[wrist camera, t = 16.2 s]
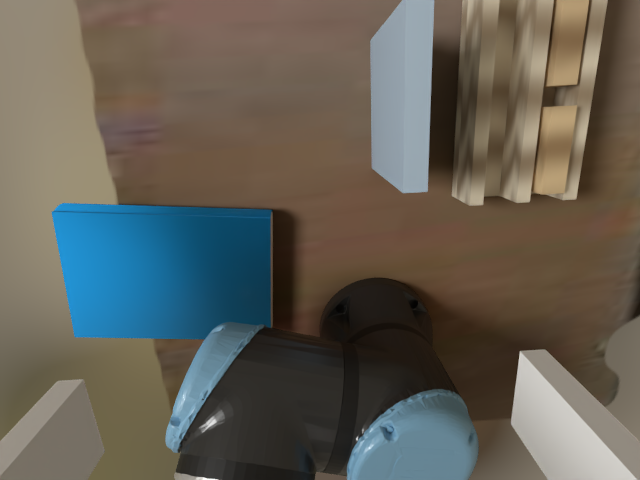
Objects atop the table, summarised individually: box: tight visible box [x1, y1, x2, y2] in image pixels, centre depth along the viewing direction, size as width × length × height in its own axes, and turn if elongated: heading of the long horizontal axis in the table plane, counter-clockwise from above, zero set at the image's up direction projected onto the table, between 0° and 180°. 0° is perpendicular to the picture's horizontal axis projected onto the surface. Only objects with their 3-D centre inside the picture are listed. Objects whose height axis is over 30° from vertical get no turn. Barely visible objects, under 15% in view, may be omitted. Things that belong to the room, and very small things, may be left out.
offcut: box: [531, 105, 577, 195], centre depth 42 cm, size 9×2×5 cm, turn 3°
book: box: [52, 203, 273, 339], centre depth 48 cm, size 17×4×25 cm
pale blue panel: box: [370, 0, 434, 193], centre depth 36 cm, size 14×2×16 cm, turn 3°
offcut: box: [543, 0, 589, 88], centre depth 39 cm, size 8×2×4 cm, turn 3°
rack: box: [452, 0, 608, 206], centre depth 41 cm, size 22×12×6 cm, turn 3°
